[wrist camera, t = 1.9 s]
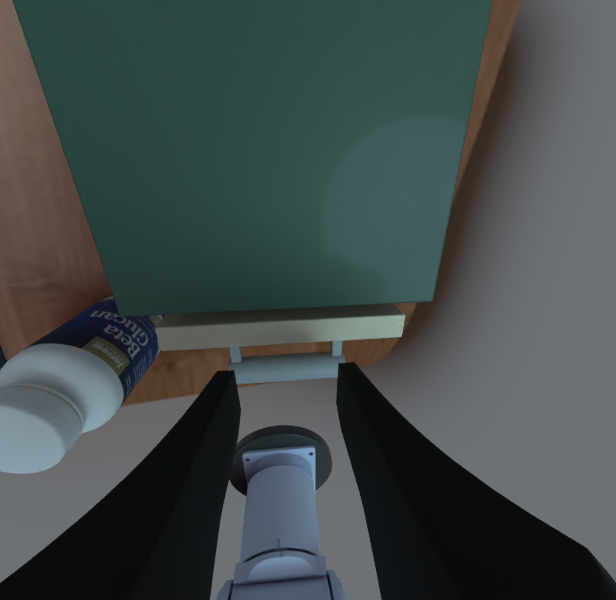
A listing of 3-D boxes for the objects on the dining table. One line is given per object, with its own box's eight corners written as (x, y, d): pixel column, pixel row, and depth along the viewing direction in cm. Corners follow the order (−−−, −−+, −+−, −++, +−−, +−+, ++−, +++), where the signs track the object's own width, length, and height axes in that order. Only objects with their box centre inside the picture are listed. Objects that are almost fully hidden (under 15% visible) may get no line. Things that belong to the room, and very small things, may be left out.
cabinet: (367, 249, 19) (433, 302, 11) (193, 255, 18) (119, 317, 10) (388, -16, 13) (561, -334, 5) (139, -28, 12) (-141, -441, 4)
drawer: (356, 337, 21) (390, 410, 14) (215, 345, 20) (182, 427, 13) (376, 60, 14) (463, -51, 7) (161, 54, 13) (37, -77, 6)
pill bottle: (179, 311, 20) (95, 418, 11) (157, 365, 21) (69, 495, 12) (100, 280, 18) (-73, 374, 9) (84, 340, 20) (-76, 468, 11)
